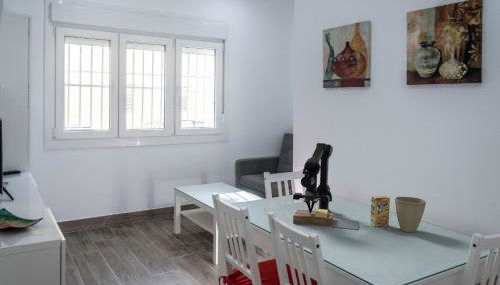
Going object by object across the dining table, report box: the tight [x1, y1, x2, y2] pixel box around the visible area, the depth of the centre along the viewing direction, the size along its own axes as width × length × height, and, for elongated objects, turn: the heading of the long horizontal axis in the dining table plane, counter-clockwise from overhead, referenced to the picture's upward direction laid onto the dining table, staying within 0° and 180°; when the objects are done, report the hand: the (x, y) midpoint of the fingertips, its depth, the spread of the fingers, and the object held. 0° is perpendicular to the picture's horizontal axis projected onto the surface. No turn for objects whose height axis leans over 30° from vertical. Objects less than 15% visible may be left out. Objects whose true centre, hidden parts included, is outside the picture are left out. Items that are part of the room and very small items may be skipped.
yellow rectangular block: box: [315, 208, 328, 218], centre depth 227 cm, size 9×6×2 cm, turn 165°
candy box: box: [369, 195, 391, 227], centre depth 224 cm, size 9×4×15 cm, turn 107°
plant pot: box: [394, 196, 427, 233], centre depth 216 cm, size 15×15×16 cm
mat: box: [331, 218, 360, 231], centre depth 224 cm, size 16×13×1 cm
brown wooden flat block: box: [292, 209, 335, 228], centre depth 228 cm, size 14×20×4 cm
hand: (310, 213), depth 229 cm, fingers closed
